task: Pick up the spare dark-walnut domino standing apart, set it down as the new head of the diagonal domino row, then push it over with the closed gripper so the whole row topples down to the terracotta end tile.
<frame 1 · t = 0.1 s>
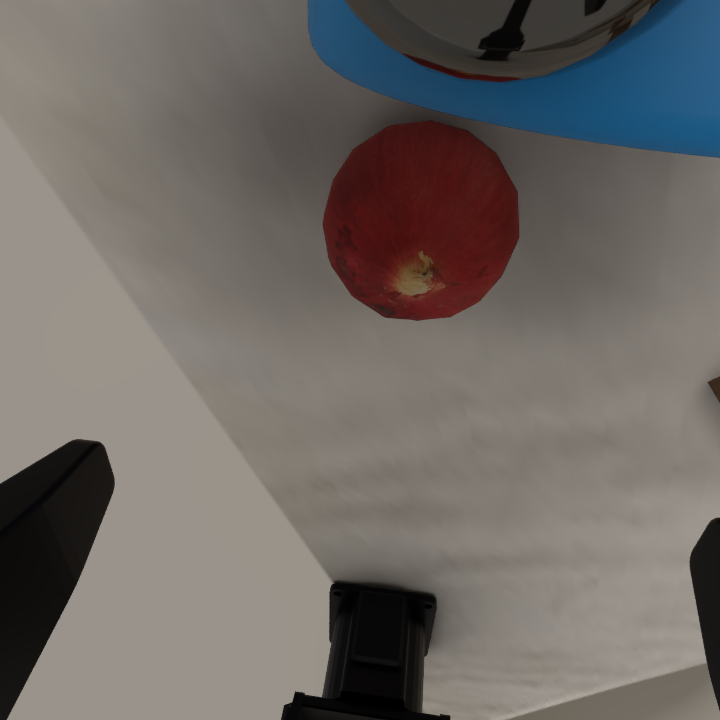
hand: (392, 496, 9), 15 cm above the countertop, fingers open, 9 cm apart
onion: (424, 182, 21), on the countertop
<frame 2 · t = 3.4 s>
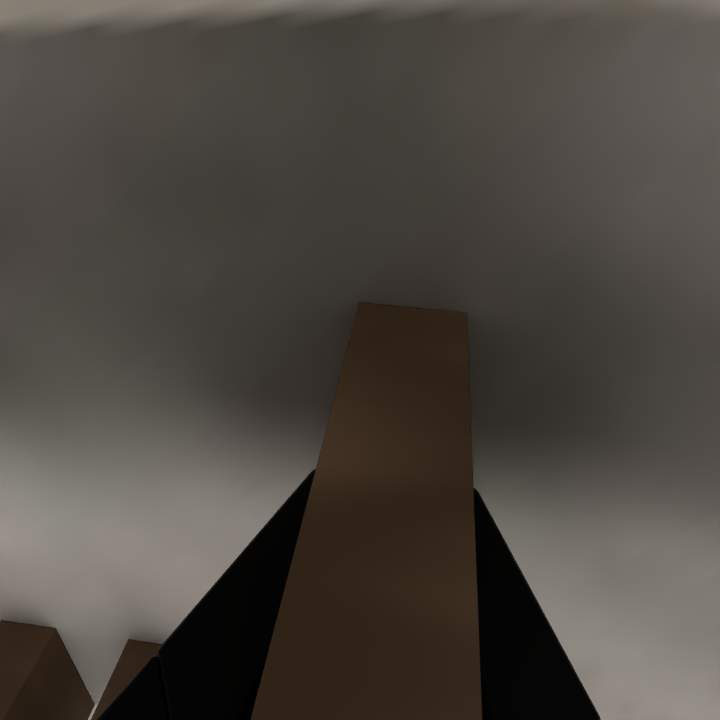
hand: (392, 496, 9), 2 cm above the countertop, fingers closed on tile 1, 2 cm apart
tile 3: (169, 684, 17), on the countertop
tile 1: (400, 422, 10), on the countertop, touching gripper
tile 4: (51, 665, 17), on the countertop
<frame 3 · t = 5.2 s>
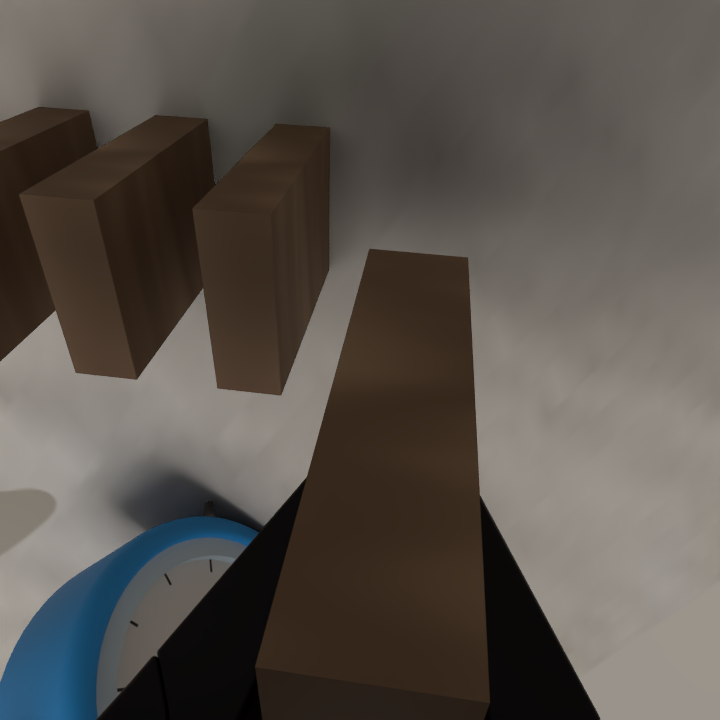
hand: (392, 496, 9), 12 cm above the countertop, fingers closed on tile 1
tile 3: (191, 192, 19), on the countertop
tile 2: (304, 201, 18), on the countertop
tile 1: (406, 366, 11), point 9 cm above the countertop, touching gripper
tile 4: (82, 183, 19), on the countertop
alarm clock: (235, 550, 30), on the countertop
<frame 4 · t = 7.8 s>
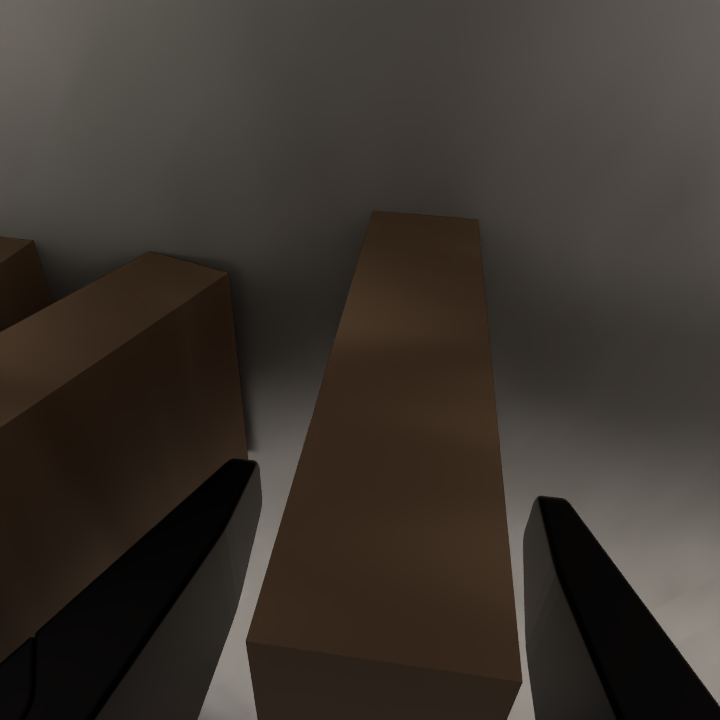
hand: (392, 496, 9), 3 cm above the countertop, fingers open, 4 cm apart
tile 3: (29, 345, 11), on the countertop, touching tile 2
tile 2: (204, 372, 11), on the countertop, tilted 18°, touching tile 3
tile 1: (411, 340, 10), on the countertop
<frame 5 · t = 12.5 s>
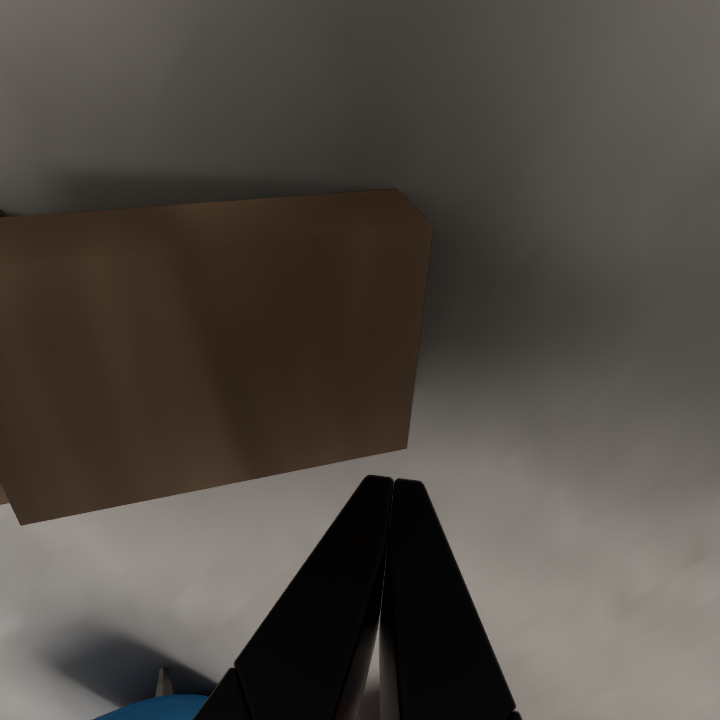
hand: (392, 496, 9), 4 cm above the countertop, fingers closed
tile 1: (401, 327, 11), point 1 cm above the countertop, tilted 65°, touching tile 2
alarm clock: (203, 712, 24), on the countertop
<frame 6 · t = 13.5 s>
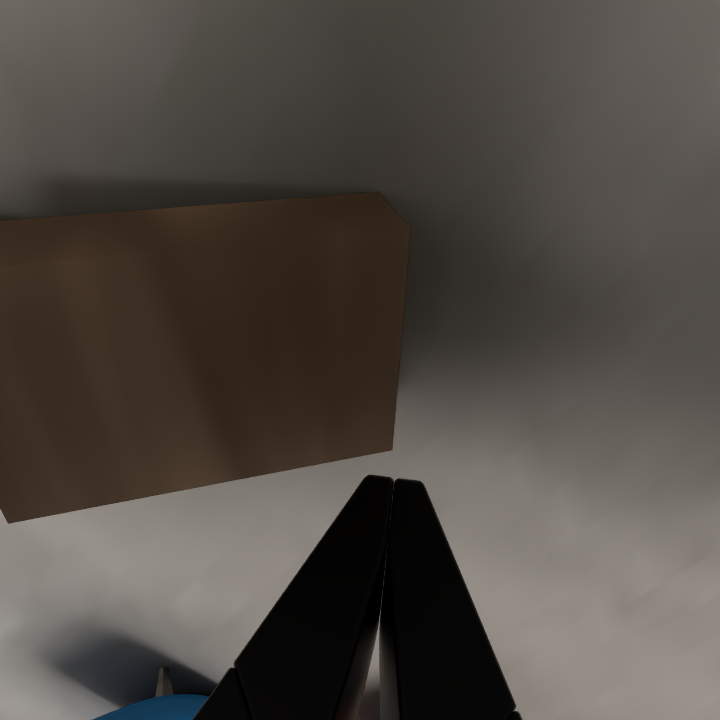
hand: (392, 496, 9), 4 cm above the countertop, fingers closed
tile 1: (385, 329, 11), point 1 cm above the countertop, tilted 66°
alarm clock: (203, 712, 24), on the countertop
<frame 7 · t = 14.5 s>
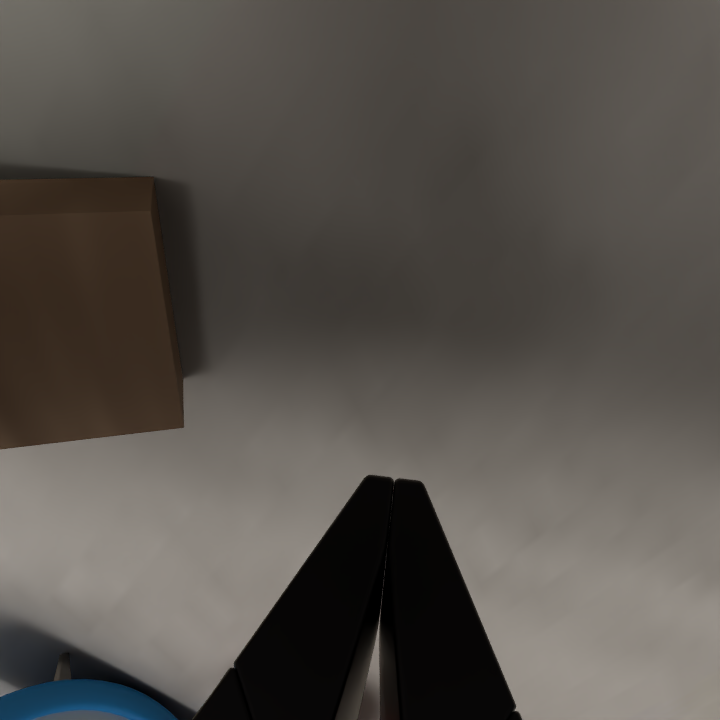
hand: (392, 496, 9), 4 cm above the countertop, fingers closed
tile 1: (169, 310, 11), point 1 cm above the countertop, tilted 69°, touching tile 2
alarm clock: (112, 699, 24), on the countertop
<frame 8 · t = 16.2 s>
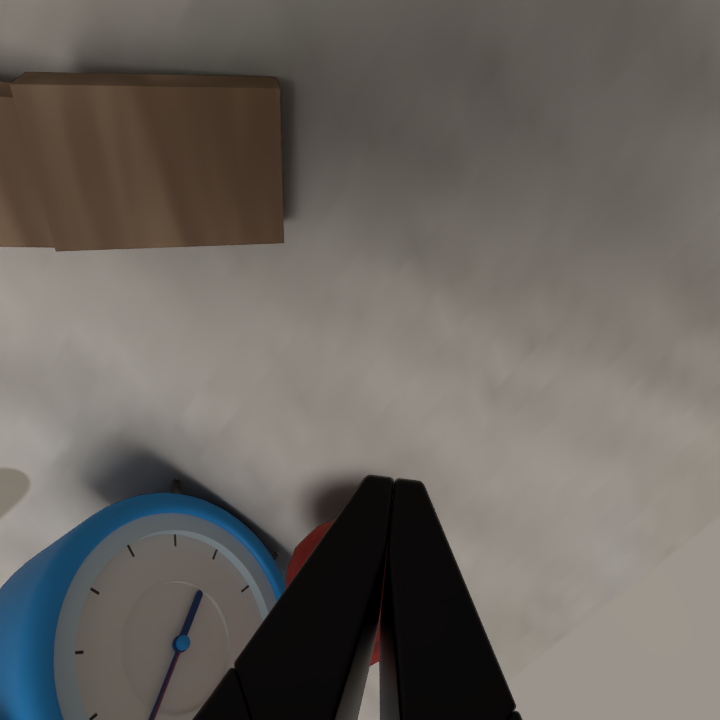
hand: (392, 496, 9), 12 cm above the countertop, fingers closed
tile 2: (122, 173, 19), point 1 cm above the countertop, tilted 69°, touching tile 1, tile 3
tile 1: (279, 163, 18), point 1 cm above the countertop, tilted 71°, touching tile 2
onion: (363, 515, 29), on the countertop
alarm clock: (204, 529, 31), on the countertop
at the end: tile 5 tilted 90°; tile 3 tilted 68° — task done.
